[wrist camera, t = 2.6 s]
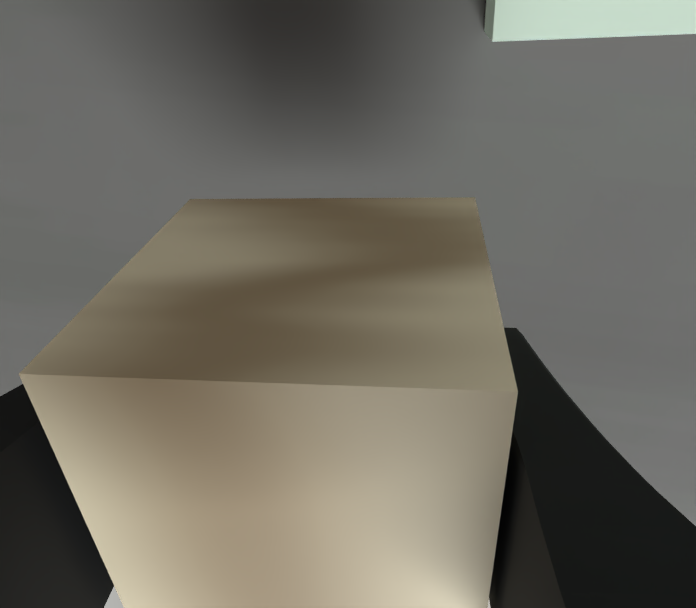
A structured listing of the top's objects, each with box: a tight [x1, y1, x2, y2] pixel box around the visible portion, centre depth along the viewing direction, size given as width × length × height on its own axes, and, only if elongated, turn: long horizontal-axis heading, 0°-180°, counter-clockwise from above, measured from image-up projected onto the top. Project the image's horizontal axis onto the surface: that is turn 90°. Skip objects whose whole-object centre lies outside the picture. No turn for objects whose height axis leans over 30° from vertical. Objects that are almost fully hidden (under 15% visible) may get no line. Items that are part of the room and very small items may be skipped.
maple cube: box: [19, 197, 518, 608], centre depth 9 cm, size 5×5×5 cm
